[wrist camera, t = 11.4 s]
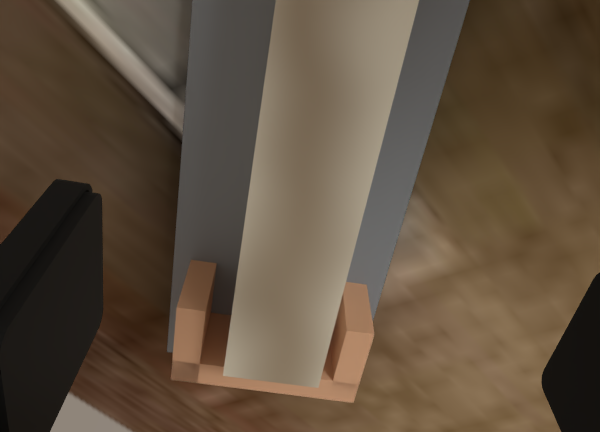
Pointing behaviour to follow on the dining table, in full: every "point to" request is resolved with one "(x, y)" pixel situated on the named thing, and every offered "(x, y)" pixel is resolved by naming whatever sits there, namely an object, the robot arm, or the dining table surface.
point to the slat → (311, 178)
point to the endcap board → (237, 174)
